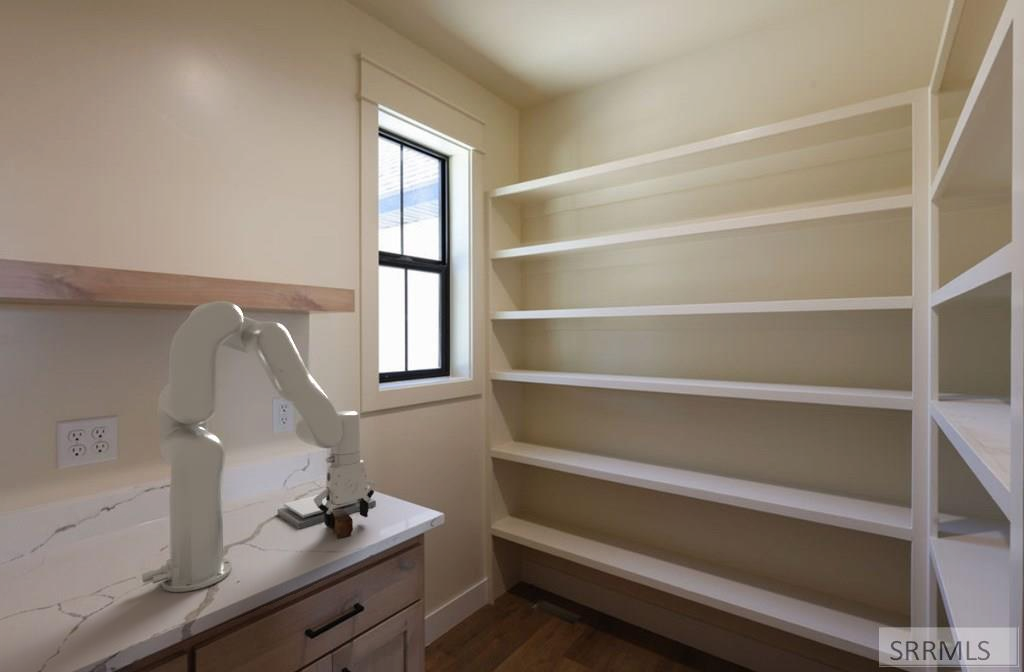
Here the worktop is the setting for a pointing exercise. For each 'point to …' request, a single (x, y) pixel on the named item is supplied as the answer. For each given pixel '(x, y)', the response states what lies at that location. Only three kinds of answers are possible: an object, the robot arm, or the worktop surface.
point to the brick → (342, 523)
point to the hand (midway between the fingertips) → (347, 521)
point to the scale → (313, 511)
